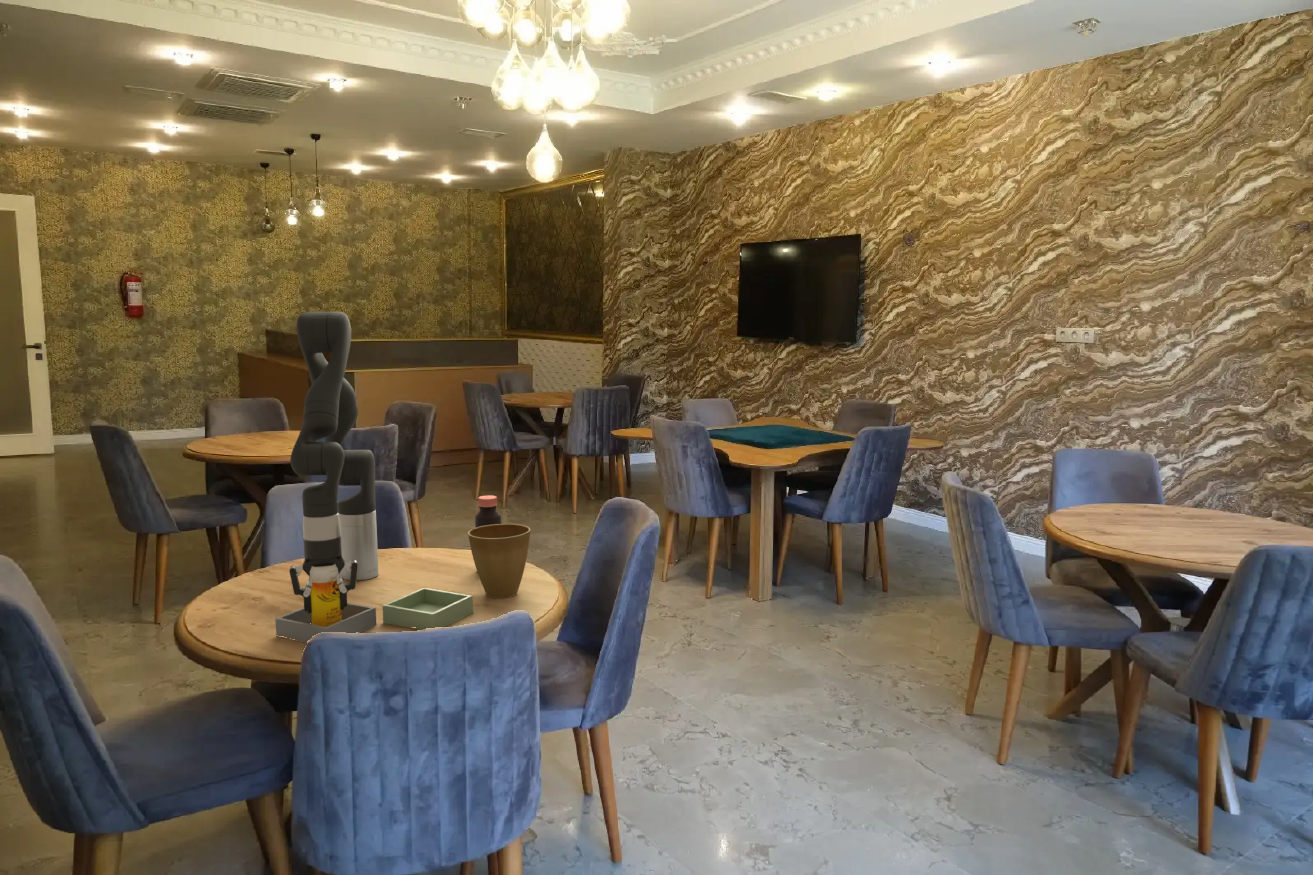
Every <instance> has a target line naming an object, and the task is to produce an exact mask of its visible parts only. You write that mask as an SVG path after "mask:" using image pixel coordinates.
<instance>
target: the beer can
mask: <svg viewBox="0 0 1313 875" xmlns="http://www.w3.org/2000/svg"><path fill="white" fill-rule="evenodd" d="M337 575H338V576H339V573H338V568H337V567H336V564H334V565H332V566H331V565H330V566H319V567H313V566H312V568H311V570H310V577H309V576H308V579H309V580H310V578H311V577H312V587H311V592H310V598H311V618H312V624H313V625H318V626H323V627H328V626H330V625H332V624H335V623H337V622H340V621H342V615H341V604H340V589H339V585H337ZM339 578H340V577H339Z"/></svg>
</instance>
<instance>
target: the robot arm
mask: <svg viewBox="0 0 1313 875" xmlns="http://www.w3.org/2000/svg"><path fill="white" fill-rule="evenodd" d="M350 322H351V321H350V319H349V317H348V315H347V314H346V313H345V312H342V311H307V312H303V313H300V314H299V315H298V318H297V319H296V333H297V339H298V343H299V346H300V350H301V353H302V356H303V358H304V361H305V364H306V368H307V370H308V374H309V378H310V382H311V385H310V387H309V389H308V390H307V393H306V396H305V398H304V405H303V406H304V407H303V418H302V424H301V425H302V426H301V428H300V431H299V434H298V437H297V439H296V441H295V443H294V446H293V449H292V451H291V453H290V460H289V461H290V466H291V468H292V470H293V472H294V473H295V474H297V475H298V476H300V477H301V476H302V477H306V476H307V477H308V476H309V477H310V476H312V477H313V476H326V479H325V481H324V482H323V483H319V484H316V485H311V486H308V487H306V488H304V489H303V491H302V493H301V495H302V497H301V498H302V515H303V516H302V518H303V519H302V535H303V536H302V537H303V538H302V539H303V540H302V541H303V550H304V551H303V553H304V554H303V556H304V561H303V563H302V564H300V565H294V564H293V565H290V567H289V576H290V580H291V586H292V589H293V590H292V591H293V593H294V595H295V596H301V597H302V599H303V608H304V610H305V611H308V613H311V598H310V592H311V587H312V577H311V578H310V580H309V577H310V570H311V568H312V566H313V567H319V566H330V565H331V566H332V565H334V564H336V567H337V568H338V573H339V576H338V575H337V585H339V589H340V604H341V610H344V607H347V603H348V592H349V591H352V590H355V589H356V586H357V581H364V580H370V579H372V578H375V577H377V576H379V553H378V552H379V551H378V533H377V531H378V530H377V511H376V509H377V507H376V460H375V456H374V453H373V451H372V450H370V449H344V448H343V442H344V440H345V438H346V437H347V436H348V434H349V433H350V431H351V429H352V428H353V426H355V423H356V421H357V419H358V416H359V408H358V402H357V398H356V396H357V395H356V393H355V390H354V388H353V386H352V385H351V384H350V382H349V381H348V380H347V379H346V378H345V373H346V369H347V362H348V359H349V353H350V348H351V344H352V343H351V341H352V327H351V323H350ZM326 353H329V354H330V353H331V356H330V359H329V361H327V360H326V358H325V356H324V354H326ZM321 439H324V441H319V440H321ZM357 486H358V487H359V486H360V490H359V491H358V492H357V493H355V494H354V495H351V496H348V497H344V498H343V499H341V500H340V501H339V499H338V498H339V487H357ZM302 571H303V572H305V574H306V575H307V576H308V580H307V581H306V585H305V586H304V587H301V586H300V581H299V577H300V576H301V573H302ZM339 577H340V578H339ZM344 580H346V581H349V582H348V583H345V582H344Z"/></svg>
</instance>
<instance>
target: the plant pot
mask: <svg viewBox="0 0 1313 875" xmlns="http://www.w3.org/2000/svg"><path fill="white" fill-rule="evenodd" d="M467 536H468V540H469V545H470V550H471V554H472V559H473V563H474V566H475V570H476V571H477V574H478V577H479V580H480V584H481V585H482V587H483V591H484V593H485V594H486V596H487V597H489V598H490V599H491V598H492V599H506V598H507V597H508V598H511V597H510V596H512V597H514V596H516V595H517V594H518V591H519V588H520V585H521V582H522V579H523V575H524V571H525V568H526V562H527V557H528V554H529V553H528V551H529V547H530V546H529V545H530V540H531V539H530V538H531V528H530V527H529V526H527V525H523V524H517V523H501V524H494V525H486V526H481V527H477V528H471V529H470V530H469V531H467ZM513 595H514V596H513Z"/></svg>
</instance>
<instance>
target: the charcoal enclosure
mask: <svg viewBox="0 0 1313 875" xmlns="http://www.w3.org/2000/svg"><path fill="white" fill-rule="evenodd" d="M341 615H342V621H340V622H337V623H335V624H332V625H330V626H328V627H323V626H318V625H313V624H310V623H312V618H311V613H308V611H305V610H304V607H301V608H299V609H296V610H294V611H291V612H289V613H286V614H284V615H281V616H278V617H276V618H275V635H278V636H284V637H287V638H291V639H295V640H297V641H296V642H300V641H302V642H301V643H304V642H305V644H308V643H307V641H308V640H310V639H311V638H312V636H314V635H316V634H318V633H321V632H346V633H356V632H360V633H362V632H365V631H367V630H368V629H371V628H374V627H375V626H377V608H376V607H374V606H368V605H363V604H362V605H361V604H358V603H352V602H347V607H344V610H341ZM364 630H365V631H364ZM295 640H294V641H295Z"/></svg>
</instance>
